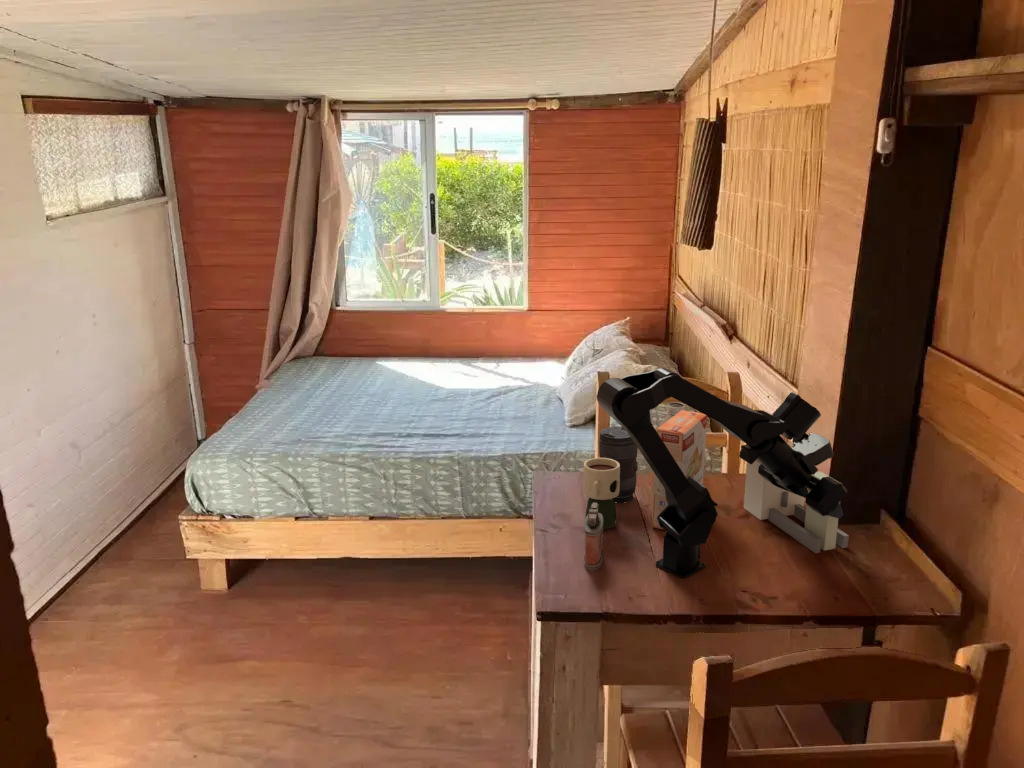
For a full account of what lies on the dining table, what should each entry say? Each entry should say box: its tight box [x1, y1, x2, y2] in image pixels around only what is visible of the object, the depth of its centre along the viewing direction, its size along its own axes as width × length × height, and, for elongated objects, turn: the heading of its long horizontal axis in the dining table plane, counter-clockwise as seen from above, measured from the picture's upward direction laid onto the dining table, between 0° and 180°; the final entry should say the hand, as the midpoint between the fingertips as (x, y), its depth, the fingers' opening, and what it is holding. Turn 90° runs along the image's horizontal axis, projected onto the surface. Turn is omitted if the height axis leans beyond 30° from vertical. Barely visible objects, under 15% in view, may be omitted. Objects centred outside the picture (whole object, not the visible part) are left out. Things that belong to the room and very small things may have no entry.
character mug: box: [582, 457, 620, 530], centre depth 153 cm, size 11×7×13 cm, turn 161°
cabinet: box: [743, 442, 850, 554], centre depth 151 cm, size 11×22×13 cm, turn 17°
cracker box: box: [651, 409, 708, 531], centre depth 154 cm, size 14×6×21 cm, turn 148°
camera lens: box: [598, 425, 639, 504], centre depth 165 cm, size 8×8×15 cm
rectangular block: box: [803, 471, 843, 551], centre depth 145 cm, size 2×6×13 cm, turn 17°
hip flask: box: [583, 503, 604, 571], centre depth 140 cm, size 8×3×10 cm, turn 170°
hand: (824, 505), depth 144 cm, fingers open, 9 cm apart
